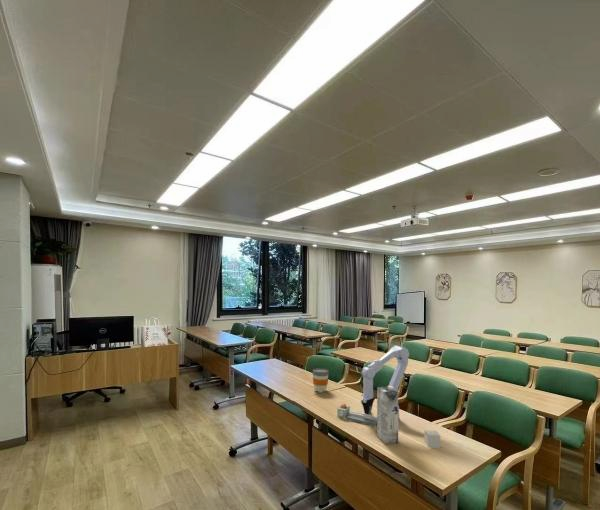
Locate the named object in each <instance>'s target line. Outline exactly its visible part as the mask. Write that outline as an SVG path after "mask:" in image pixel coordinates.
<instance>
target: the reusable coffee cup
mask: <svg viewBox="0 0 600 510" xmlns="http://www.w3.org/2000/svg"><path fill="white" fill-rule="evenodd" d="M329 373H330V372H329V369H327V368H314V369H312V383H313V387H314V388H313V389H314V392H316V391H318V392H317V393H324V392H323V391H325V392H326V391H327V385H329V384H328V383H329Z"/></svg>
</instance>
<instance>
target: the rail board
mask: <svg viewBox="0 0 600 510" xmlns="http://www.w3.org/2000/svg"><path fill="white" fill-rule="evenodd" d="M345 419H347V420H346V421H350V420H351V421H350V422H354V421H355V422H354V423H359V424H362V423H363V425H367V426H370V427H371V426H372V427H375V426H376V425H377V416H374V415H373V417H372V420H371V419H366V418H363V413H360V412H354V411H350V412H349V414H348V415H347V416H346V417H345ZM345 419H344V420H345ZM376 427H377V426H376Z"/></svg>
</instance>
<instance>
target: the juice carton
mask: <svg viewBox="0 0 600 510" xmlns="http://www.w3.org/2000/svg"><path fill="white" fill-rule="evenodd" d="M387 386H388V387H387ZM387 386H381V387H380V386H377V388H376V392H377V393H376V394H377V395H376V396H377V397H376V403H377V404H376V408H377V409H376V410H377V411H376V413H377V414H376V417H377V426H376V429H377V437H378V438H379V439H380V440H381V441H382V442H383V443H384V444H385V445H391V444H398V443H399V420H398V406H399V391H398V390H397V391H395V390H393V389H394V387H392V386H389V385H387Z"/></svg>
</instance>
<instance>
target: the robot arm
mask: <svg viewBox="0 0 600 510" xmlns="http://www.w3.org/2000/svg"><path fill="white" fill-rule="evenodd" d="M409 357H410V352H409V350H408V348H407V347H403V346H399V345H397V344H395V345H393V346H392V347H390V349H389V350H388V352H386V353H385V354H384V355H383V356H382V357H381V358H379V359H374V360H373V361H372V362H371V363H370V364H368V365H367V366H363V368H362V370H361V375H362V378H363V379H362V380H363V381H362V382H363V388H362V389H363V390H362V391H363V393H362V394H361V395H360V396H361V397H362V399H361V401H360V403H361V405H362V408H363V413H365V414H368V413H369V407H370V406H371V411H372V409H373V405H374V402H375V399H376V398H375V397H374V378H375V376H376V374H377V373H378V372H379V371H380V370H381V369H383V368H384V365H385V364H386V363H387V362H389V361H391V359H393V358H395V359H396V360H397V364H396V366H395V369H394V372H393V374H392V376H391V379H390V381H389V384H388V385H387V386H386V387H388V386H392V387H394V389H393V390H395V391H397V392H398V388H399V386H400V385H401V381H402V380H403V377H404V374H405V371H406V369H407V367H408V365H409ZM399 420H400V406H399V405H398V421H399Z"/></svg>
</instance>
